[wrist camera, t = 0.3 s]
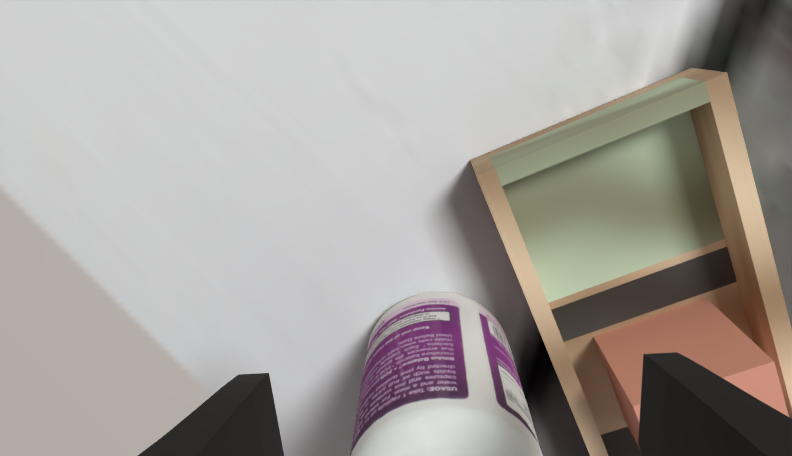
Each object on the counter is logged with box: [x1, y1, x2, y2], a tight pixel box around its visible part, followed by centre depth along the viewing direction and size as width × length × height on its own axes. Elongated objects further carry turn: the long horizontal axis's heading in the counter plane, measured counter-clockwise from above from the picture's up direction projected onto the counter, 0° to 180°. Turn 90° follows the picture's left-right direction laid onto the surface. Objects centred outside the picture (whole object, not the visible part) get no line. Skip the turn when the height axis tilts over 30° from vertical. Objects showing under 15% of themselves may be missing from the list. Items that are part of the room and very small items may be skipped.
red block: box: [594, 298, 789, 449], centre depth 19 cm, size 4×4×4 cm
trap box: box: [470, 68, 792, 456], centre depth 19 cm, size 16×7×2 cm, turn 24°
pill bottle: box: [350, 292, 543, 456], centre depth 17 cm, size 5×5×10 cm
